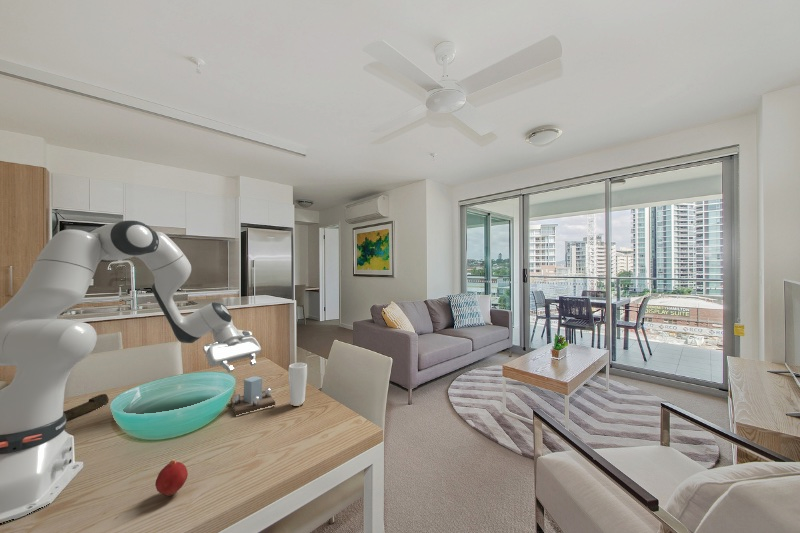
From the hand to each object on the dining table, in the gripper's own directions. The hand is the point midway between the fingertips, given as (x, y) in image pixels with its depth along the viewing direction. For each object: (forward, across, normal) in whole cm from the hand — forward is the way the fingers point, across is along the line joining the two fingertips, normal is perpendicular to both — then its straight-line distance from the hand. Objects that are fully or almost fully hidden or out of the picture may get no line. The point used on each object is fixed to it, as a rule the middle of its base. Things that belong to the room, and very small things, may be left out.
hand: (243, 368), depth 117 cm
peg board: (+14, 0, +5) cm, 14 cm away
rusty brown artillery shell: (-18, -35, +37) cm, 54 cm away
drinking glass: (+24, +9, -5) cm, 26 cm away
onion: (+32, -38, -13) cm, 51 cm away
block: (+12, 0, +4) cm, 13 cm away
